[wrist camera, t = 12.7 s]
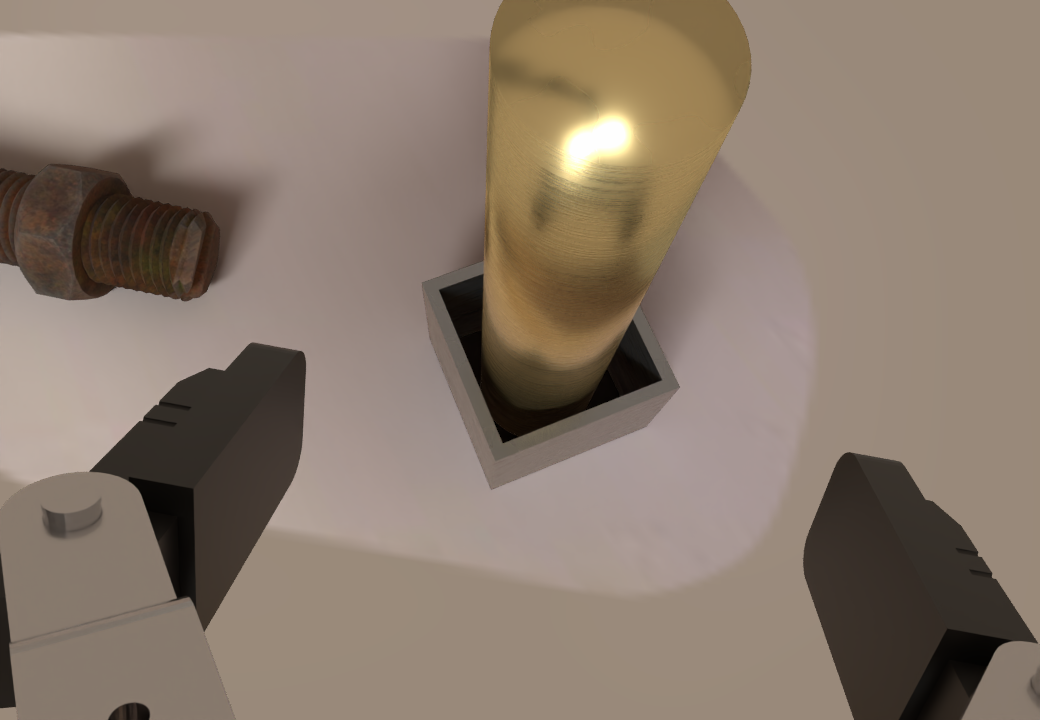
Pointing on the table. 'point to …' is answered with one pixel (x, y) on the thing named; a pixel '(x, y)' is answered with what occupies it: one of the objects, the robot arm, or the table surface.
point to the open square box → (641, 398)
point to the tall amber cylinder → (591, 180)
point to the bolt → (101, 236)
